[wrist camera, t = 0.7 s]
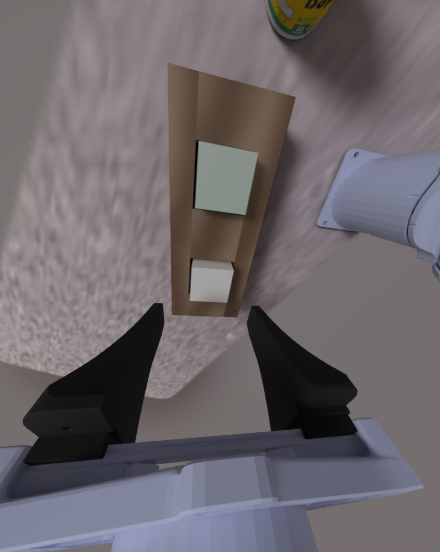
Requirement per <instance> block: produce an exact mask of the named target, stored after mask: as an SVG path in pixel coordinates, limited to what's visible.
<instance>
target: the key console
mask: <svg viewBox="0 0 440 552" xmlns="http://www.w3.org/2000/svg"><path fill="white" fill-rule="evenodd" d="M295 98H296V97H293V96H289V95H286V94H282V93H278V92H274V91H271V90H267V89H263V88H259V87H256V86H252V85H248V84H244V83H241V82H237V81H233V80H229V79H226V78H222V77H218V76H214V75H211V74H207V73H203V72H199V71H196V70H192V69H188V68H184V67H181V66H177V65H173V64H169V63H168V108H169V167H170V225H171V283H172V315H190V316H217V317H237V316H238V312H239V309H240V305H241V301H242V297H243V294H244V290H245V286H246V282H247V279H248V275H249V271H250V267H251V264H252V260H253V256H254V252H255V249H256V245H257V241H258V237H259V234H260V230H261V226H262V222H263V218H264V215H265V211H266V207H267V203H268V200H269V196H270V192H271V188H272V185H273V181H274V177H275V173H276V170H277V166H278V162H279V158H280V155H281V151H282V147H283V143H284V140H285V136H286V132H287V128H288V125H289V121H290V117H291V113H292V109H293V106H294V102H295ZM199 141H202V142H207V143H212V144H217V145H222V146H227V147H232V148H237V149H242V150H247V151H252V152H257V153H258V157H257V162H256V166H255V171H254V176H253V181H252V186H251V190H250V195H249V200H248V205H247V210H246V214H245V215H242V214H234V213H227V212H220V211H213V210H205V209H198V208H195V201H196V183H197V165H198V147H199ZM193 258H195V259H206V260H217V261H228V262H231V264H232V267H233V270H234V272H233V277H232V282H231V286H230V291H229V296H228V301H227V303H224V302H204V301H190V290H191V272H192V262H193Z"/></svg>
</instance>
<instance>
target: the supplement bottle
mask: <svg viewBox="0 0 440 552" xmlns="http://www.w3.org/2000/svg"><path fill="white" fill-rule="evenodd" d="M334 2H335V0H265V4H266V9H267V13H268V16H269V19H270V21H271V23H272V25H273V27H274V29H275V30H276V31H277V32H278V33H279V34H280V35H281V36H283V37H285V38H287V39H300V38H303V37H304V36H306V35H307V34H309V33H310V32H311V31H312V30H313V29H314V28H315V27H316V26H317V25H318V24H319V22H320V21H321V20H322V18H323V17H324V16H325V15H326V13H327V12H328V10H329V9H330V7H331V6H332V5H333V3H334Z"/></svg>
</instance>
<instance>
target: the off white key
mask: <svg viewBox="0 0 440 552" xmlns="http://www.w3.org/2000/svg"><path fill="white" fill-rule="evenodd" d="M233 272H234V270H233V267H232V264H231V262H228V261H217V260H206V259H195V258H193V262H192V272H191V290H190V301H204V302H224V303H227V301H228V296H229V291H230V286H231V282H232V277H233Z"/></svg>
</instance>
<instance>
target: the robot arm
mask: <svg viewBox="0 0 440 552" xmlns="http://www.w3.org/2000/svg"><path fill="white" fill-rule="evenodd" d="M355 153H356V156H355V158H354V154H355ZM324 222H325V223H324ZM323 223H324V224H323ZM316 225H317V226H319V227H327V228H334V229H341V230H349V231H356V232H363V233H367V234H371V235H373V236H377V237H380V238H383V239H386V240H390V241H393V242H396V243H400V244H403V245H407V246H409V247H413V248H416V249H417V252H418V254H417V258H420V259H423V260H426V261H429V262H432V263H434V264H433V273H434V275H435V277H436V278H437V279H438V280H439V281H440V149H437V150H430V151H423V152H417V153H410V154H403V155H396V156H387V155H383V154H379V153H374V152H370V151H365V150H361V149H357V148H352V149H349V150H348V151H347V152H346V154H345V156H344V159H343V161H342V163H341V166H340V168H339V170H338V173H337V175H336V177H335V180H334V182H333V184H332V187H331V189H330V191H329V194H328V196H327V198H326V201H325V203H324V205H323V208H322V210H321V212H320V214H319V217H318V219H317V221H316ZM163 327H164V312H163V303H154V304H153V305H152V306H151V307H150V308H149V310H148V311H147V312H146V313H145V314H144V315H143V316H142V317H141V318H140V319H139V321H138V322H137V323H136V324H135V325H134V326H133V327H131V328H130V329H129V330H128V331H127V332H126V333H125V334H124V335H123V336H122V337H121V338H119V339H118V340H117V341H116V342H115V343H113V344H112V345H111V346H110V347H108V348H107V349H106V350H104V351H103V352H102V353H100V354H99V355H97V356H96V357H95V358H93V359H92V360H90V361H89V362H87V363H86V364H84V365H82V366H81V367H79V368H78V369H76V370H74V371H73V372H71V373H69V374H68V375H66V376H64V377H63V378H61V379H59V380H58V381H56V382H54V383H52V384H50V385H49V386H48V387H47V389H46V390H45V391H44V392H43V393H42V394H41V396H40V397H39V398H38V400H37V401H36V402H35V404H34V405H33V407H32V408H31V409H30V410H29V412H28V413H27V414H26V416H25V417H24V418H23V424H24V426H25V427H26V428H27V429H29V430H30V431H32V432H33V433H34V434H35V435H37V436H38V437H39V438H38V439H37V441H36V443H35V444H34V446H28V445H21V446H20V445H19V446H6V447H0V552H49V551H56V550H62V549H69V548H76V547H83V546H90V545H96V544H103V543H110V542H113V546H112V550H111V552H318V549H317V546H316V543H315V540H314V536H313V533H312V530H311V527H310V523H309V520H308V517H307V514H306V511H307V510H312V509H318V508H323V507H329V506H335V505H340V504H346V503H352V502H357V501H363V500H369V499H375V498H381V497H388V496H392V495H396V494H400V493H404V492H409V491H413V490H417V489H421V488H423V484H422V483H421V482H420V481H419V479H418V478H417V476H416V475H415V474H414V472H413V471H412V470H411V468H410V467H409V465H408V464H407V463H406V461H405V460H404V458H403V457H402V456H401V454H400V453H399V451H398V450H397V449H396V447H395V446H394V445H393V443H392V442H391V441H390V439H389V438H388V436H387V435H386V434H385V432H384V431H383V429H382V428H381V427H380V425H379V424H378V423H377V421H376V420H375V419H374V418H372V417H370V418H358V419H354V420H351V419H350V417H349V415H348V414H350V411H349V409H348V408H347V406H346V405H347V404H348V403H349V402H350V401H352V399H354V397H356V395H357V389H356V387H355V386H354V385H353V383H352V382H351V381H350V380H349V378H348V377H347V375H346V374H344V373H343V372H341V371H339V370H337V369H336V368H334V367H332V366H330V365H328V364H327V363H325V362H324V361H322V360H320V359H319V358H317V357H315V356H314V355H312V354H311V353H310V352H308V351H307V350H305V349H304V348H303V347H301V346H300V345H299V344H297V343H296V342H295V341H294V340H292V339H291V338H290V337H289V336H288V335H287V334H286V333H284V332H283V331H282V330H281V329H280V328H279V327H278V326H277V325H276V324H275V323H274V322H273V321H272V320H271V319H270V318H269V317H268V315H267V314H266V313H265V312H264V311H263V310H262V309H261V308H260V307H259V306H251V310H250V314H249V317H248V321H247V327H248V332H249V336H250V339H251V342H252V345H253V348H254V352H255V355H256V358H257V361H258V364H259V368H260V373H261V377H262V381H263V387H264V391H265V397H266V403H267V408H268V414H269V421H270V427H271V431H269V432H256V433H245V434H233V435H221V436H209V437H198V438H186V439H174V440H163V441H151V442H139V443H135V440H136V434H137V429H138V424H139V419H140V414H141V409H142V404H143V399H144V395H145V391H146V386H147V382H148V378H149V373H150V369H151V366H152V362H153V359H154V356H155V354H156V351H157V348H158V345H159V342H160V339H161V336H162V331H163ZM261 453H265V454H261ZM192 460H194V461H192ZM182 461H191V462H189V463H186V464H185V465H181V466H176V467H171V468H166V469H161V470H159V466H158V465H154V464H163V463H172V462H182Z"/></svg>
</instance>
